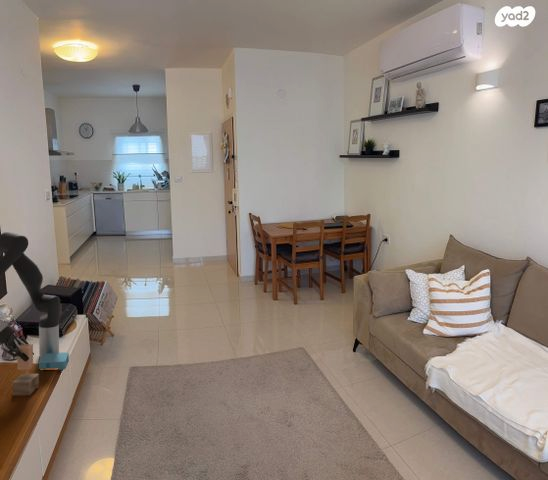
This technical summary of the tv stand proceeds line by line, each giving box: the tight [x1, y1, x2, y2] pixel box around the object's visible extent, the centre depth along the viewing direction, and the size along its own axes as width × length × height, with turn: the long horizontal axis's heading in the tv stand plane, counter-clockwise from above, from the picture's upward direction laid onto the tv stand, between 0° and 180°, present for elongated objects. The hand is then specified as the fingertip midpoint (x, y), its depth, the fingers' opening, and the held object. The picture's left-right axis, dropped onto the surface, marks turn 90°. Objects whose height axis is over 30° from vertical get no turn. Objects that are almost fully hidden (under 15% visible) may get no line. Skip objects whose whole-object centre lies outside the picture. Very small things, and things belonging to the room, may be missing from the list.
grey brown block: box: [12, 372, 40, 396], centre depth 196 cm, size 9×7×6 cm
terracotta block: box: [16, 343, 34, 371], centre depth 194 cm, size 5×5×10 cm
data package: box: [38, 352, 70, 371], centre depth 222 cm, size 12×4×12 cm
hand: (30, 357), depth 195 cm, fingers closed on terracotta block, 4 cm apart
